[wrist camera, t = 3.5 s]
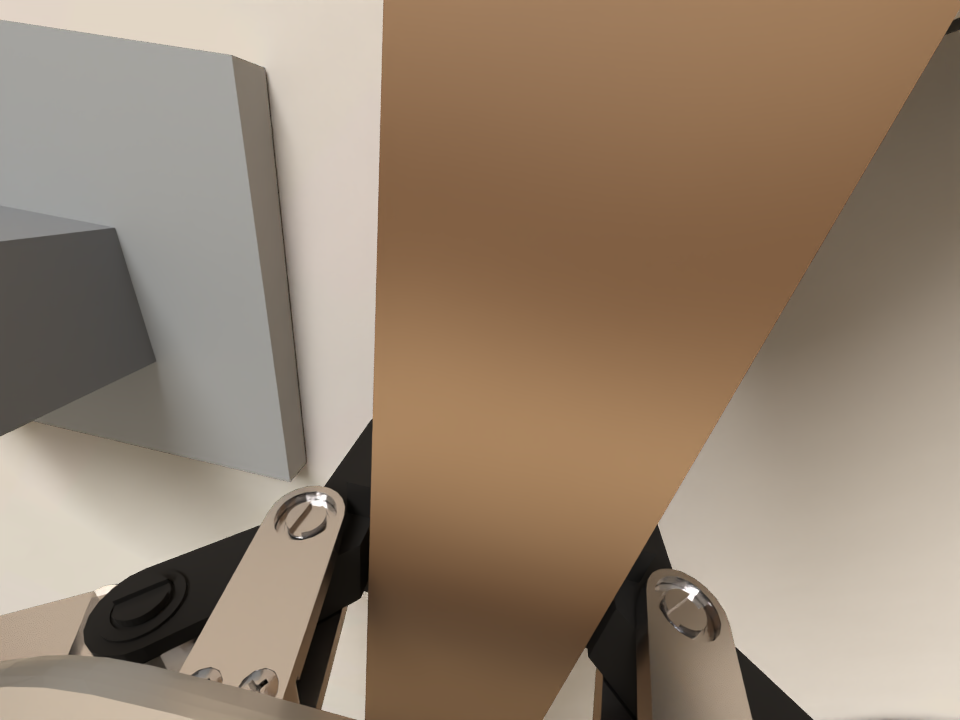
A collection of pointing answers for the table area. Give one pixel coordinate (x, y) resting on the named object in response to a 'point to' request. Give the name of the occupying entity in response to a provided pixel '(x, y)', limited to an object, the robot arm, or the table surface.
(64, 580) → the table surface
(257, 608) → the robot arm
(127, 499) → the table surface
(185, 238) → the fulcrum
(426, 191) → the walnut bar
